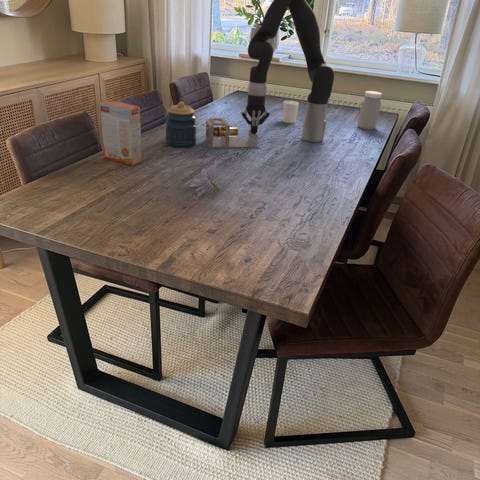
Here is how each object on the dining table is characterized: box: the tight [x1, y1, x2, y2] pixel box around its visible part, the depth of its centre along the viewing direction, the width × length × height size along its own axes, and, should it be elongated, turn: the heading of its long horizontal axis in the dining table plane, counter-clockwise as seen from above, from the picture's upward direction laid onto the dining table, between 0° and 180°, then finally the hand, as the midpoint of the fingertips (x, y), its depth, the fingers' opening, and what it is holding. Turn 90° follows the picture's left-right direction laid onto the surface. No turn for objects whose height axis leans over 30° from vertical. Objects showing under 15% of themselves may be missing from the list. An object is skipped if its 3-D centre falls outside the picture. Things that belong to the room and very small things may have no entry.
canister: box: [164, 100, 197, 149], centre depth 184 cm, size 13×13×18 cm
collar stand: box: [204, 117, 260, 149], centre depth 190 cm, size 22×11×10 cm, turn 103°
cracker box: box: [99, 100, 143, 166], centre depth 161 cm, size 14×6×21 cm, turn 59°
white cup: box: [282, 100, 300, 124], centre depth 229 cm, size 8×8×10 cm
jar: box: [356, 90, 383, 131], centre depth 228 cm, size 10×10×18 cm
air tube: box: [205, 126, 239, 138], centre depth 189 cm, size 13×4×4 cm, turn 103°
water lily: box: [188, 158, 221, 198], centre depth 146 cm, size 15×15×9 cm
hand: (253, 133), depth 193 cm, fingers closed
